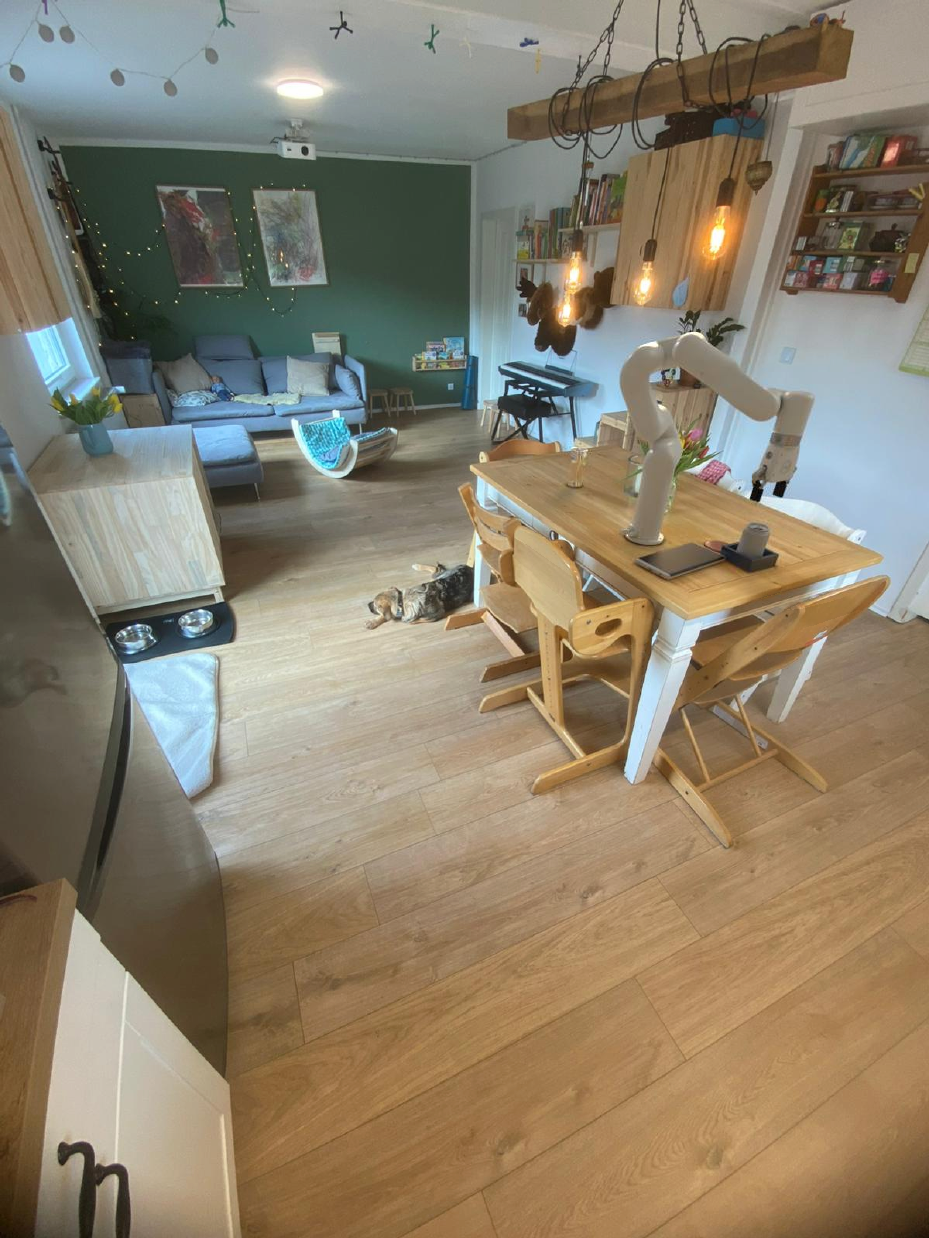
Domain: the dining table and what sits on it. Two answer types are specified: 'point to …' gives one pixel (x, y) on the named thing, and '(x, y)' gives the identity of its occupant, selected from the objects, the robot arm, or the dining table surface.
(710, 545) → the coaster
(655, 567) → the smartphone
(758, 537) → the can
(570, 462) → the beer glass
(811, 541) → the dining table surface
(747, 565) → the dark square tray
